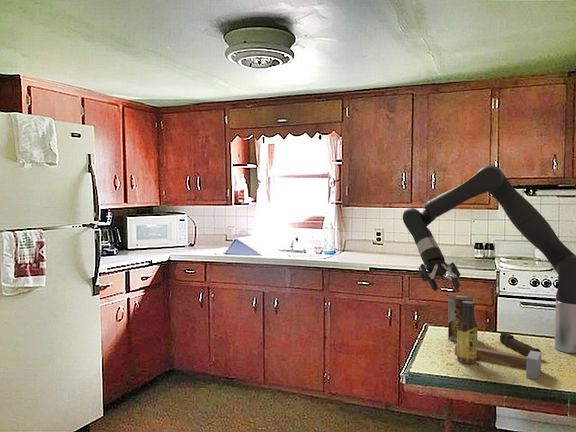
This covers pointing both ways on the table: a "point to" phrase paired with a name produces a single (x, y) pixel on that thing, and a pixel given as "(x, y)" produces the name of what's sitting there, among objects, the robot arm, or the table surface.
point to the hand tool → (516, 344)
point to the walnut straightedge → (500, 357)
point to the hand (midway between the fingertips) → (447, 289)
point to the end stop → (533, 365)
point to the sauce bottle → (467, 334)
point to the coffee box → (455, 313)
